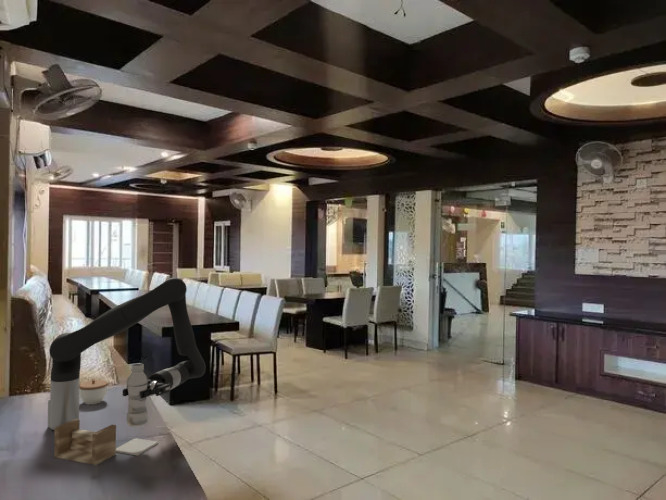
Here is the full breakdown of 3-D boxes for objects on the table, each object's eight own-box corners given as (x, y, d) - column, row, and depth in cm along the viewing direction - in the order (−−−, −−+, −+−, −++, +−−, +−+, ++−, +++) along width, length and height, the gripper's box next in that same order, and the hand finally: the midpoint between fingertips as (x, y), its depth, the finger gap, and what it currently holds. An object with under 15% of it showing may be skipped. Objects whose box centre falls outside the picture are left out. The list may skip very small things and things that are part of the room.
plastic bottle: (140, 430, 155) (141, 368, 155) (121, 428, 156) (122, 366, 156) (152, 423, 161) (152, 363, 161) (133, 421, 163) (134, 361, 162)
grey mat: (113, 451, 155) (113, 449, 155) (135, 439, 165) (135, 438, 165) (137, 455, 153) (137, 453, 153) (157, 443, 162) (157, 441, 162)
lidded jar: (82, 399, 207) (82, 377, 207) (109, 397, 210) (110, 375, 209) (75, 407, 197) (75, 384, 197) (104, 405, 199) (104, 382, 199)
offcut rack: (54, 457, 150) (54, 427, 150) (75, 447, 158) (75, 418, 158) (96, 465, 146) (96, 434, 146) (115, 454, 153) (116, 425, 153)
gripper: (148, 368, 174) (114, 380, 159) (182, 371, 170) (151, 385, 154) (147, 388, 175) (113, 403, 159) (182, 393, 170) (151, 408, 154)
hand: (132, 394), depth 157 cm, fingers closed on plastic bottle, 6 cm apart
